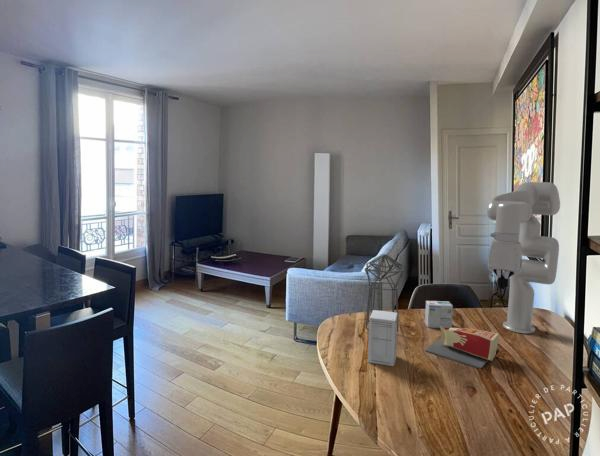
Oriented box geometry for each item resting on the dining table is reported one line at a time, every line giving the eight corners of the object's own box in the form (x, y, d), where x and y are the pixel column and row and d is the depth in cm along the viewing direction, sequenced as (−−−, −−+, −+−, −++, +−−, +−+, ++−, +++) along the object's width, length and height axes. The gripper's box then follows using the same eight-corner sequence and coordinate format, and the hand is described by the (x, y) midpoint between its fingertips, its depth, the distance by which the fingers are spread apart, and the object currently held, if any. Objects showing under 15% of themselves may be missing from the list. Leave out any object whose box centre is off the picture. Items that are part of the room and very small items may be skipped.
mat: (446, 334, 160) (446, 333, 160) (497, 349, 147) (498, 347, 147) (425, 351, 143) (425, 350, 143) (480, 369, 130) (480, 367, 130)
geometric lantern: (362, 341, 152) (364, 256, 148) (364, 328, 167) (366, 250, 164) (402, 345, 148) (405, 258, 145) (401, 331, 163) (404, 252, 160)
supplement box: (396, 355, 140) (398, 312, 138) (394, 367, 131) (396, 320, 129) (370, 351, 143) (372, 309, 141) (367, 362, 134) (368, 317, 132)
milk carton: (498, 334, 140) (444, 319, 152) (493, 339, 133) (436, 323, 145) (495, 357, 140) (441, 341, 153) (489, 364, 133) (433, 346, 146)
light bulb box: (447, 323, 173) (449, 301, 172) (452, 329, 167) (453, 305, 165) (424, 322, 174) (425, 299, 173) (427, 327, 168) (428, 304, 166)
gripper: (480, 236, 134) (477, 286, 136) (528, 241, 124) (523, 295, 126) (487, 234, 140) (483, 282, 142) (533, 239, 130) (528, 290, 132)
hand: (502, 288), depth 134 cm, fingers closed
